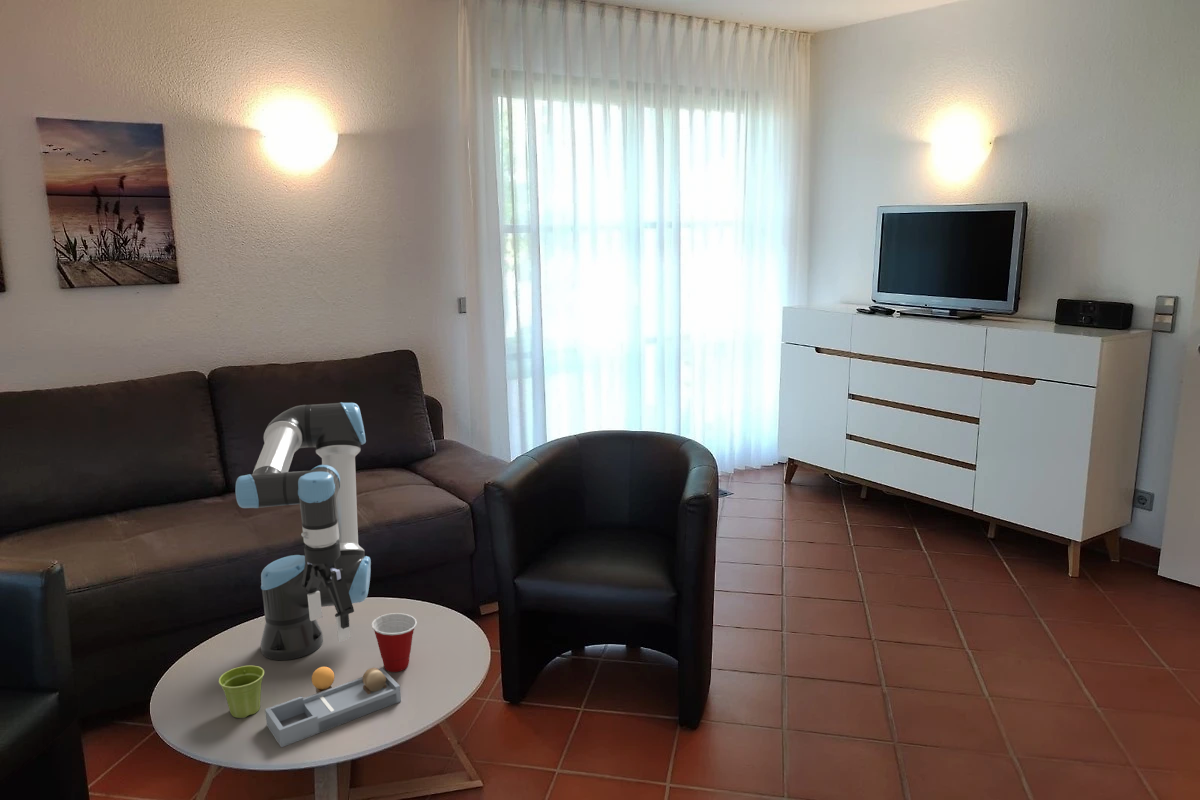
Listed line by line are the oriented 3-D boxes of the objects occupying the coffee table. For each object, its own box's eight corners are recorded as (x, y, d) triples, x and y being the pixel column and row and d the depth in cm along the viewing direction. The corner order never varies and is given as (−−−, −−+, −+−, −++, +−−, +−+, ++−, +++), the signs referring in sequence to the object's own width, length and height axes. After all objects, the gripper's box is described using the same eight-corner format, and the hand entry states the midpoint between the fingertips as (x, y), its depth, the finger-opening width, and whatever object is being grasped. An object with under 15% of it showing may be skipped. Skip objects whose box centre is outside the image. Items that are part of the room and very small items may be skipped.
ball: (309, 686, 193) (307, 667, 192) (330, 679, 196) (328, 660, 195) (317, 696, 189) (315, 676, 188) (338, 688, 192) (336, 668, 191)
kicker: (363, 688, 192) (361, 671, 191) (381, 682, 194) (379, 665, 193) (368, 694, 189) (366, 676, 189) (386, 687, 192) (385, 670, 191)
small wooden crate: (316, 696, 194) (315, 686, 193) (328, 692, 195) (327, 682, 195) (321, 701, 191) (320, 691, 191) (333, 697, 193) (332, 687, 192)
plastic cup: (417, 676, 202) (414, 630, 199) (372, 679, 200) (368, 633, 198) (421, 653, 212) (418, 610, 210) (378, 656, 211) (375, 612, 208)
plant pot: (234, 698, 193) (230, 664, 191) (274, 699, 193) (270, 665, 191) (215, 722, 184) (210, 687, 182) (257, 722, 184) (253, 687, 182)
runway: (266, 725, 183) (264, 709, 182) (383, 682, 199) (381, 667, 198) (281, 747, 175) (279, 730, 174) (401, 701, 191) (399, 685, 190)
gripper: (280, 531, 191) (289, 616, 196) (332, 563, 173) (341, 655, 178) (312, 522, 196) (320, 605, 201) (365, 552, 178) (372, 642, 183)
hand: (329, 629), depth 190 cm, fingers open, 13 cm apart
